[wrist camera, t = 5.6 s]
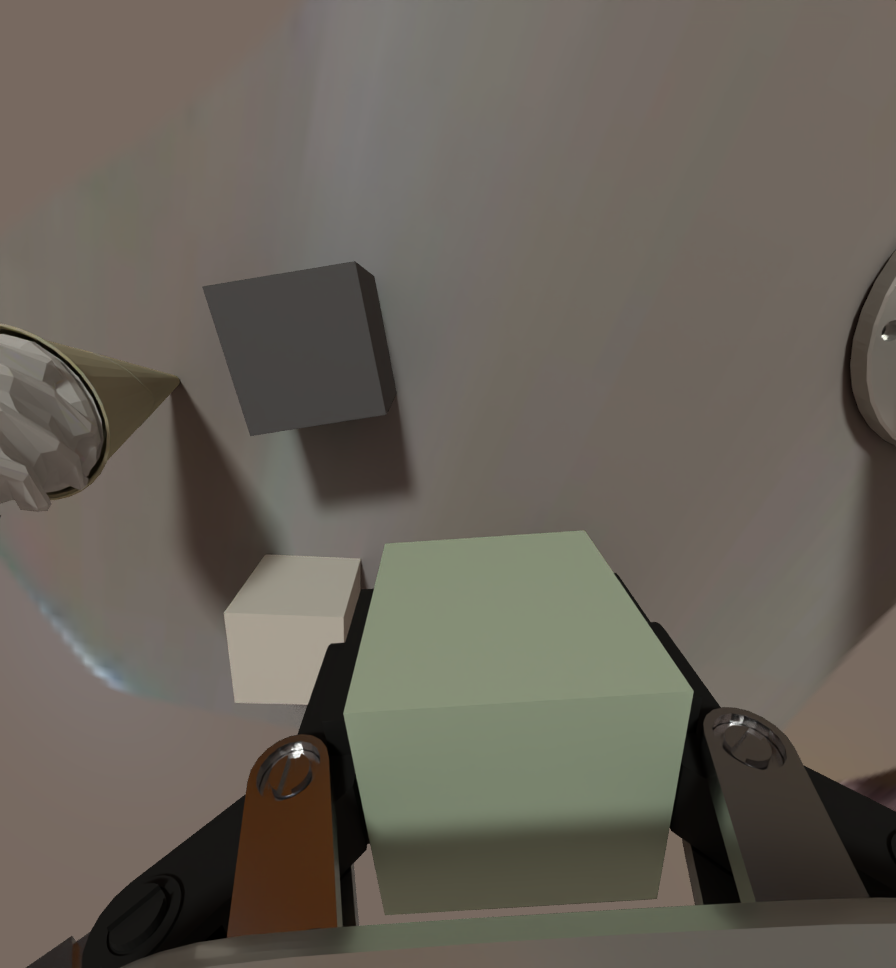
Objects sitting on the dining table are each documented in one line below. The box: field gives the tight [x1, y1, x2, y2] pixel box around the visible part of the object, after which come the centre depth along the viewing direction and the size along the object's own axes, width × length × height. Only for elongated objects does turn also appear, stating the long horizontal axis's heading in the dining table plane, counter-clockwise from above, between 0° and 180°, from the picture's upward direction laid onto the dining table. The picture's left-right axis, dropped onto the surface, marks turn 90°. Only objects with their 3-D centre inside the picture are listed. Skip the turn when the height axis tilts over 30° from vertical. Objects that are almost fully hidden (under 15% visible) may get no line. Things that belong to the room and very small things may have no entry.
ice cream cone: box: [0, 323, 180, 517], centre depth 13 cm, size 5×5×15 cm
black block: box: [203, 261, 396, 436], centre depth 17 cm, size 5×5×5 cm
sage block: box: [343, 530, 694, 915], centre depth 9 cm, size 5×5×5 cm
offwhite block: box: [224, 554, 361, 705], centre depth 22 cm, size 5×5×5 cm
